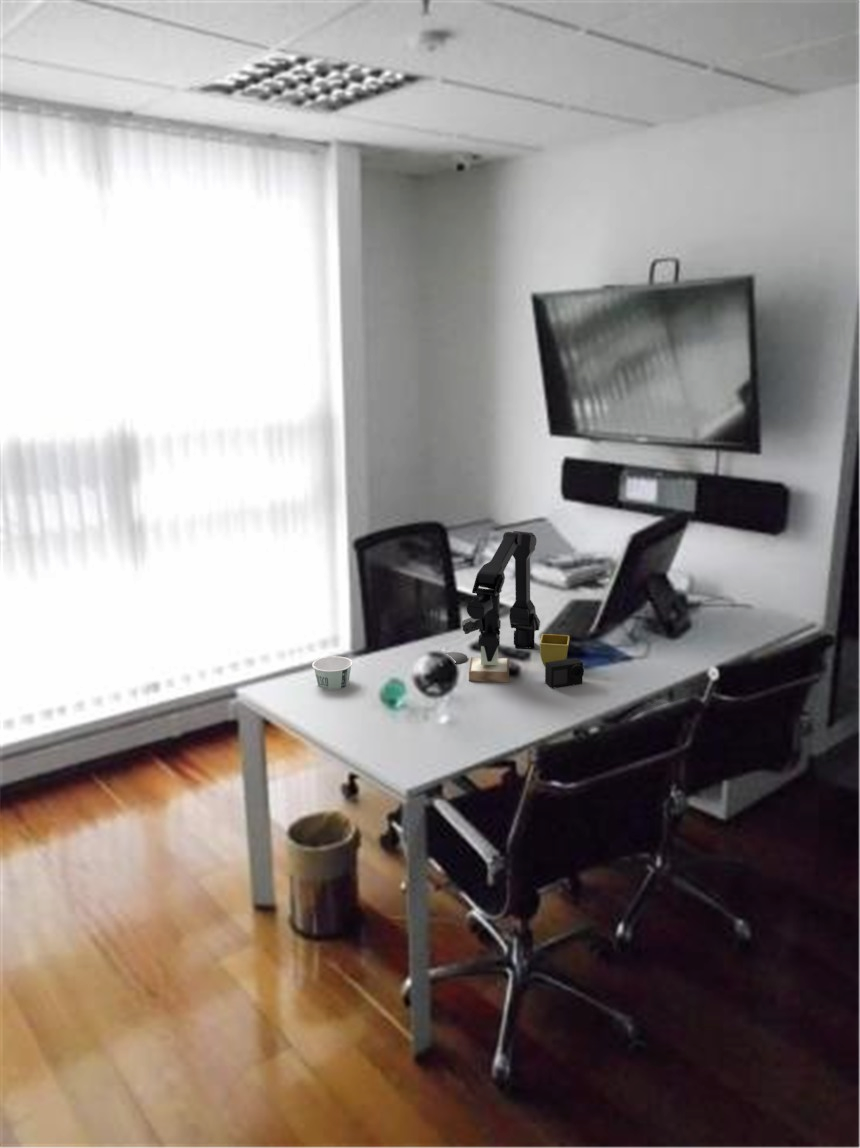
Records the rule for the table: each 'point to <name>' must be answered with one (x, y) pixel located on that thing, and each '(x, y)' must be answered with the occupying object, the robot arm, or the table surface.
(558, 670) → the digital camera
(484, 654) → the block
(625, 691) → the table surface
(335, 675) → the food container
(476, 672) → the plinth
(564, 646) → the flower pot
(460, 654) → the coaster
